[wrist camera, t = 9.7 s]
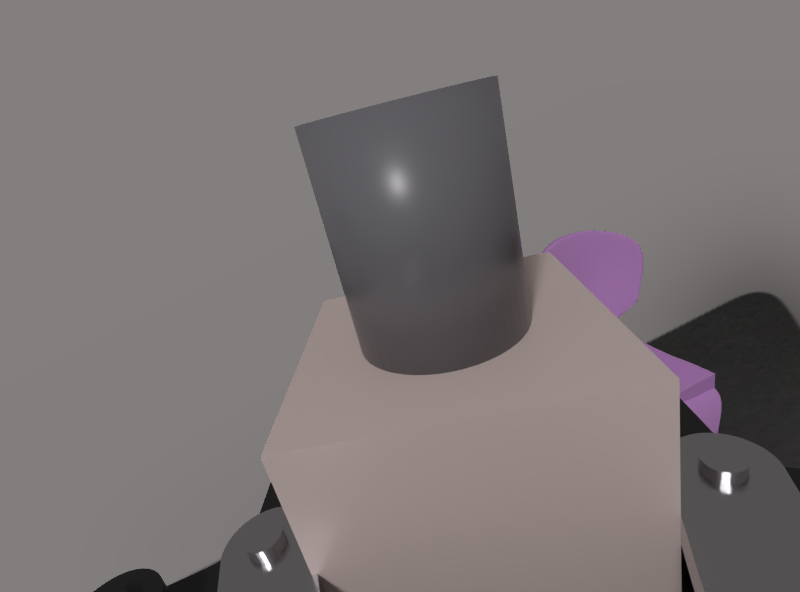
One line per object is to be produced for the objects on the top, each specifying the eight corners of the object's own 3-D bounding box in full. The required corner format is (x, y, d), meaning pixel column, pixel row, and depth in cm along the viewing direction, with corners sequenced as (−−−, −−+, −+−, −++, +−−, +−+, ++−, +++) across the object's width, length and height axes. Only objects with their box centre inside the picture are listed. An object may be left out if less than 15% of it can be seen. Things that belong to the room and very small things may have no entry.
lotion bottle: (441, 872, 8) (133, 164, 4) (428, 627, 12) (271, 135, 8) (684, 848, 8) (675, 26, 3) (590, 603, 12) (528, 70, 7)
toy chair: (623, 549, 24) (603, 293, 19) (525, 452, 32) (491, 252, 27) (738, 481, 27) (750, 232, 21) (619, 406, 34) (605, 210, 29)
